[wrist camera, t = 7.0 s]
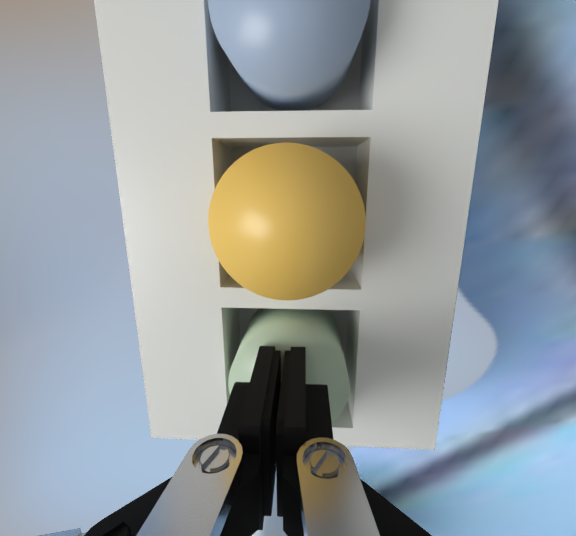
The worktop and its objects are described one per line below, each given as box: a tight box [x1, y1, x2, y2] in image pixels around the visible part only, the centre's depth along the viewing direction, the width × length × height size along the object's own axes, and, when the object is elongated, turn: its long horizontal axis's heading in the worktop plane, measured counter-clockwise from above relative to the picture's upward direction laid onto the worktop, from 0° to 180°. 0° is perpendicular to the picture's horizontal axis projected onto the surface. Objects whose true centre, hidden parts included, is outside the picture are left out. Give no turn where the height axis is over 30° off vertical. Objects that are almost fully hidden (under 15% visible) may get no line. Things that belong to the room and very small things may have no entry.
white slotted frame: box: [94, 0, 499, 450], centre depth 13 cm, size 12×19×4 cm, turn 0°
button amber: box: [208, 142, 366, 301], centre depth 11 cm, size 4×4×4 cm
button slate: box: [208, 0, 371, 111], centre depth 10 cm, size 4×4×4 cm
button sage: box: [228, 308, 350, 423], centre depth 13 cm, size 4×4×4 cm
